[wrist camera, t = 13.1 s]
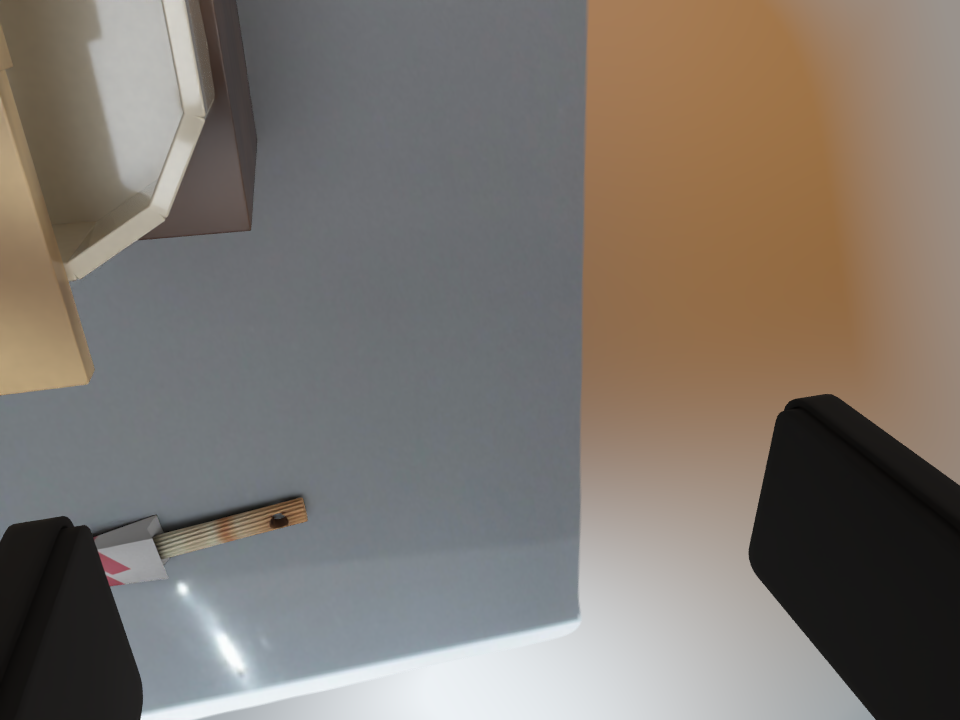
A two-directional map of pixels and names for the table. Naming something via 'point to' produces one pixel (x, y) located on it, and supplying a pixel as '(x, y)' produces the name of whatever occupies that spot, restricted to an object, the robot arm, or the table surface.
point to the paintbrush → (182, 540)
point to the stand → (219, 141)
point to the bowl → (108, 113)
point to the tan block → (32, 272)
